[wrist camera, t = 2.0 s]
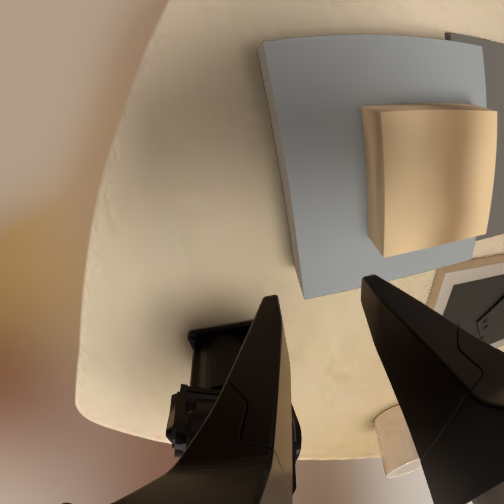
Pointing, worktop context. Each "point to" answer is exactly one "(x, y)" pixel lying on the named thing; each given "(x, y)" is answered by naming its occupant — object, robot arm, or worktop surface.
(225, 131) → the worktop surface
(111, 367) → the worktop surface
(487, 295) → the picture frame
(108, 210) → the worktop surface
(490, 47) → the rubber mat
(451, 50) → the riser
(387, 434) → the white cup
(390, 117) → the coaster
